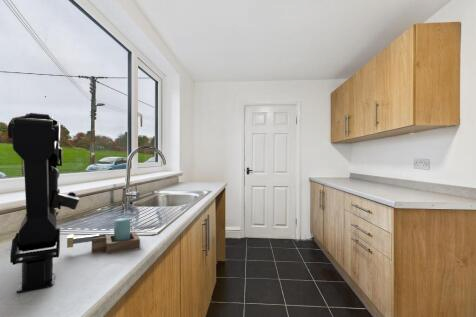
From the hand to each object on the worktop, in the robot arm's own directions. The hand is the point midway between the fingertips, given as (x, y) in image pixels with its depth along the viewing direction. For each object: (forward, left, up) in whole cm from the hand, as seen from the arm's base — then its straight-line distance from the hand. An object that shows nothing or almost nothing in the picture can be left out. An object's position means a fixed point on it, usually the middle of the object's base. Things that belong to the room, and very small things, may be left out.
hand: (45, 238), depth 74 cm
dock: (0, -19, -6) cm, 20 cm away
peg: (0, -21, -6) cm, 22 cm away
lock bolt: (0, -10, -3) cm, 10 cm away
